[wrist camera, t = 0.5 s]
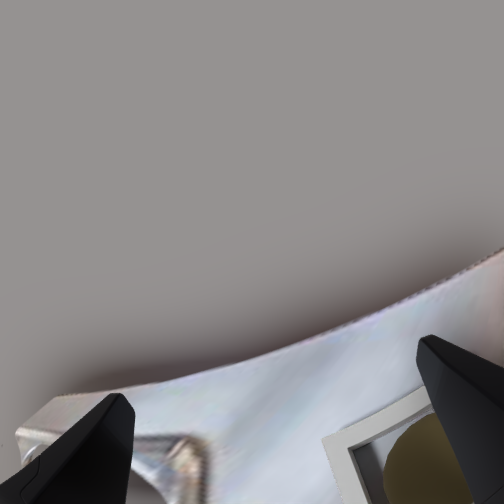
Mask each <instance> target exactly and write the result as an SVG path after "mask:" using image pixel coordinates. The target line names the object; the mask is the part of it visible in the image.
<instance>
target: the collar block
mask: <svg viewBox="0 0 504 504" xmlns="http://www.w3.org/2000/svg"><path fill="white" fill-rule="evenodd" d="M431 408H433V406H432V404H431V401H430V399H429V396H428V393H427V390H426V388H425V385H424V386H422V387H420V388H419V389H417V390H416V391H414V392H412V393H411V394H409V395H408V396H406V397H404V398H402V399H401V400H399V401H397V402H396V403H394V404H392V405H390V406H388V407H387V408H385V409H383V410H381V411H379V412H377V413H375V414H373V415H372V416H370V417H368V418H366V419H364V420H362V421H360V422H358V423H355V424H353V425H351V426H349V427H347V428H345V429H343V430H340V431H338V432H336V433H333V434H331V435H329V436H326V437H324V438H322V439H321V441H322V444H323V446H324V449H325V452H326V455H327V458H328V461H329V464H330V467H331V470H332V473H333V476H334V478H335V481H336V484H337V487H338V490H339V493H340V496H341V499H342V502H343V504H372V502H371V499H370V496H369V494H368V491H367V488H366V486H365V483H364V480H363V478H362V475H361V472H360V470H359V467H358V464H357V462H356V459H355V457H354V454H353V450H355V449H357V448H359V447H362V446H364V445H366V444H368V443H370V442H372V441H374V440H376V439H378V438H380V437H382V436H384V435H386V434H388V433H390V432H392V431H394V430H396V429H397V428H399V427H401V426H403V425H405V424H406V423H408V422H410V421H412V420H413V419H415V418H417V417H418V416H420V415H422V414H423V413H425V412H426V411H428V410H430V409H431ZM472 504H474V502H473V503H472Z"/></svg>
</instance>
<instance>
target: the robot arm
mask: <svg viewBox="0 0 504 504" xmlns="http://www.w3.org/2000/svg"><path fill="white" fill-rule="evenodd" d="M416 363H417V367H418V369H419V372H420V374H421V377H422V380H423V382H424V385H425V388H426V390H427V393H428V396H429V399H430V401H431V404H432V406H433V409H434V411H435V413H436V415H437V417H438V419H439V421H440V423H441V425H442V427H443V430H444V432H445V434H446V436H447V438H448V440H449V443H450V445H451V447H452V449H453V451H454V454H455V456H456V458H457V461H458V463H459V465H460V468H461V470H462V473H463V475H464V478H465V480H466V483H467V485H468V488H469V490H470V493H471V496H472V498H473V501H474V504H504V368H503V367H500V366H498V365H496V364H494V363H492V362H490V361H488V360H486V359H484V358H481V357H479V356H477V355H475V354H473V353H471V352H469V351H467V350H465V349H462V348H460V347H458V346H456V345H454V344H452V343H450V342H448V341H446V340H443V339H441V338H439V337H437V336H435V335H428V336H425V337H422V338H421V339H420V340H419V342H418V349H417V356H416ZM134 427H135V411H134V409H133V407H132V406H131V405H130V403H129V402H128V400H127V399H126V398H125V396H124V395H123V394H121V393H110V394H109V395H108V396H106V397H105V398H104V399H103V400H102V401H101V402H100V403H98V404H97V405H96V406H95V407H94V408H93V409H92V410H91V411H89V412H88V413H87V414H86V415H85V416H84V417H83V418H81V419H80V420H79V421H78V422H77V423H76V424H75V425H73V426H72V427H71V428H70V429H69V430H68V431H67V432H65V433H64V434H63V435H62V436H61V437H60V438H58V439H57V440H56V441H55V442H54V443H53V444H52V445H50V446H49V447H48V448H47V449H46V450H45V451H43V452H42V453H41V455H39V456H38V457H36V458H35V459H34V460H33V461H32V462H30V463H29V464H28V465H27V466H26V467H24V468H23V469H22V470H20V471H19V472H18V473H16V474H15V475H13V476H12V477H11V478H9V479H8V480H6V481H5V482H3V483H2V484H0V504H125V502H126V495H127V488H128V480H129V474H130V468H131V462H132V455H133V441H134Z"/></svg>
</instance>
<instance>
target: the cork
mask: <svg viewBox="0 0 504 504" xmlns="http://www.w3.org/2000/svg"><path fill="white" fill-rule="evenodd" d="M383 487H384V491H385V494H386V496H387V498H388V501H389V503H390V504H472V503H473V502H474V501H473V498H472V496H471V493H470V490H469V488H468V485H467V483H466V480H465V478H464V475H463V473H462V470H461V468H460V465H459V463H458V461H457V458H456V456H455V454H454V451H453V449H452V447H451V445H450V443H449V440H448V438H447V436H446V434H445V432H444V430H443V427H442V425H441V423H440V421H439V419H438V417H437V415H436V413H432V414H429V415H426V416H425V417H423V418H422V419H420V420H419V421H417V422H416V423H414V424H412V425H411V426H410V427H409V428H408V429H407V430H406V431H405V432H404V433H403V434H402V435H401V436H400V437H399V438H398V439H397V441H396V443H395V444H394V446H393V448H392V449H391V451H390V453H389V454H388V457H387V460H386V464H385V467H384V471H383Z"/></svg>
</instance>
